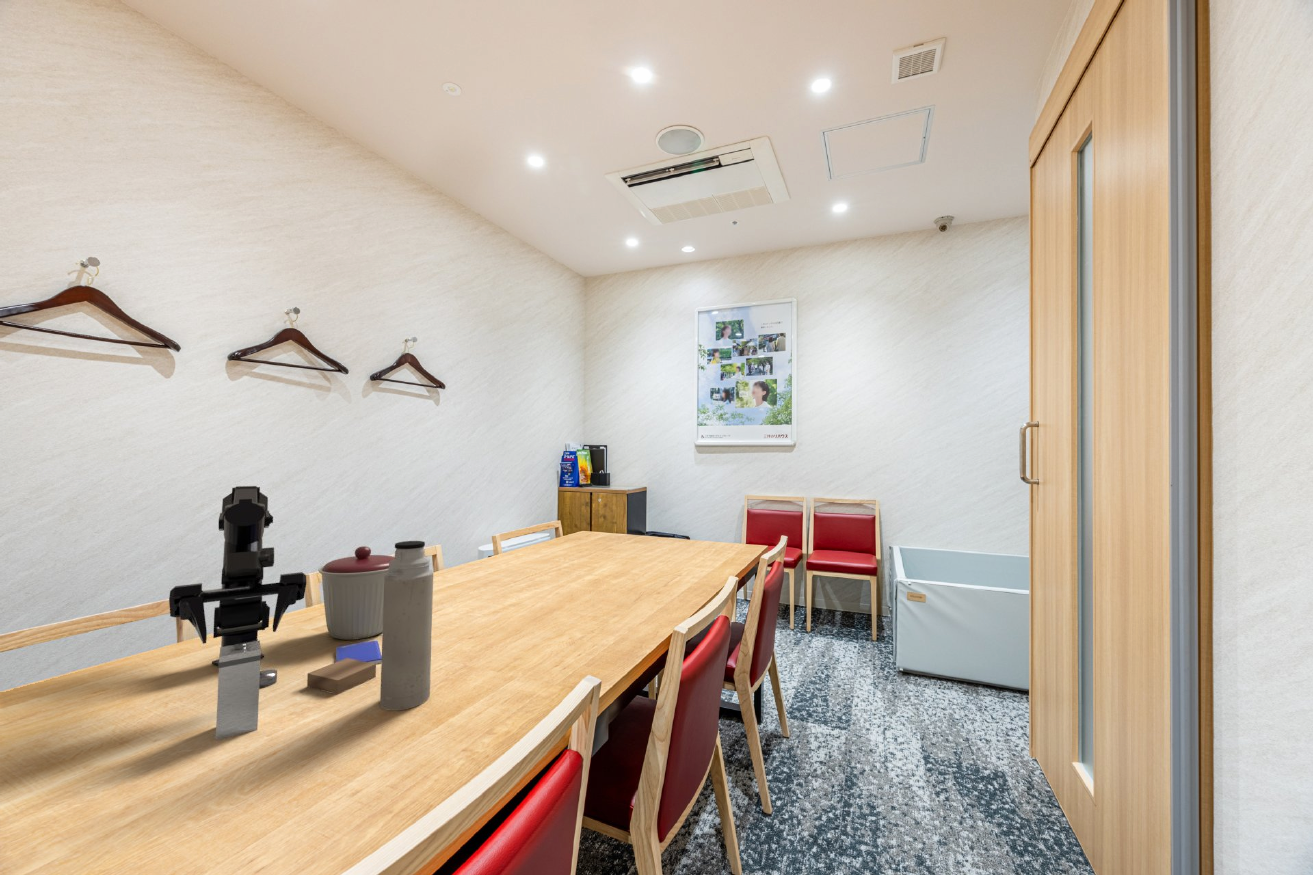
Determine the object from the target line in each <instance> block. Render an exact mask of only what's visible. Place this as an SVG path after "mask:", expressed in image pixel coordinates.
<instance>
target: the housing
mask: <svg viewBox="0 0 1313 875" xmlns="http://www.w3.org/2000/svg"><path fill="white" fill-rule="evenodd" d="M260 641H261V640H259V639H258V641H254V642H248V643H239V644H236V645H231V646H225V647H221V646H220V647H219V648H220V649H219V654H218V655H219V658H218V659H219V666H217V668H218V680H217V681H218V682H217V704H216V723H215V724H216V725H215V726H216V728H215V741H219V740H223V739H227V738H230V737H233V736H234V737H235V736H238V735H242V734H245V733H249V732H250V733H251V732H254V731H257V730H258V722H259V703H260V702H259V698H260V688H259V680H260V671H261V660H262V658H261V654H262V651H261V650H262V649H261V642H260Z"/></svg>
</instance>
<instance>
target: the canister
mask: <svg viewBox="0 0 1313 875" xmlns="http://www.w3.org/2000/svg"><path fill="white" fill-rule="evenodd" d="M393 559H395V556H392V555H384V554H372V549H371V547H369V546H363V545H362V546H359V547H357V548H356V549H355V550H354V555H353V556H348V557H342V558H337V559H334V560H331V561H329V562H326V564H324V565H323V566H321V567H319V568H318V573H319V574H321V583H322V584H321V586H322V593H323V604H324V606H323V607H324V613H325V614H324V616H325V622H326V623H325V624H326V629H327V631H328V633H329V635H330V636H331V637H333V638H334V639H337V640H347V641H349V640H350V641H351V640H352V641H353V640H360V639H365V638H371V637H374V636H377V635H380V634H382V631H383V600H384V576H385V575H386V574H387V573H389V570H388V568H389V562H390V561H392V560H393Z"/></svg>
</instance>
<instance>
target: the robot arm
mask: <svg viewBox="0 0 1313 875" xmlns="http://www.w3.org/2000/svg"><path fill="white" fill-rule="evenodd" d="M231 488H232V489H231V492H230V493H229V494H228V495H226V496H225V497H223V498H222V504H221V512H220V513H219V516H218V531H219V532H222V531H223V538H224V542H223V543H224V544H223V556H222V557H223V558H222V569H221V579H220V580H221V582H220V584H221V588H216V589H215V588H214V589H208V590H207V589H206V590H203V583H202V582H200V583H192V584H191V583H190V584H183V585H175V586H174V587H173V588H171V589H170V591H169V596H168V597H169V598H168V602H169V603H168V604H169V617H172V618H179V619H180V620H182V621H186V620H187V621H189V622H190V624H191V625H192V626H193V627H194V628H195V630H196V632H197V634H198V637H199V638H200V640H201V643H202V644H203V645H204V644H207V638H208V636H207V635H208V634H207V633H208V632H207V631H208V630H207V622H206V613H205V605H204V604H205V603H212V602H219V603H218V604H219V606H216V607H214V612H213V613H214V615H213V637H212V638H213V639H217V638H220V637H221V640H220V642H221V644H220V647H225V646H231V645H236V644H239V643H248V642H254V641H259V639H258V635H259V634H258V632H259V631H266V629H267V628H269V627H270V613H271V611H270V610H271V607H270V606H269V605H268V603H267V600H263V597H265V596H272V595H277V597H276V603H275V609H274V615H273V620H272V621H273V622H272V632H273V633H275V632H277V629H278V627H279V625H280V622H281V620H282V618H283V616H284V614H285V613H286V611H287V609H288V608H289V607H290V606H293V605H295V604H296V603H297V601H301V600H303V599H304V598H305V594H306V588H307V574H306V573H304V572H303V571H302V572H301V571H299V572H293V573H283V574H280V575H279V582H272V583H265V584H263V580H264V568H271V567H274V563H275V546H273V547H263V537H264V536H263V535H264V533H265V529H269V527H270V526H271V524H273V523H274V516H273V515H272V514H271V513H270V510H268V509H269V498H268V496H266V495H265V494H264V493H262V492H261V487H260V486H257V485H247V486H246V485H241V486H240V485H239V486H238V485H237V486H236V485H235V486H234V487H231ZM263 658H265V654H263V653H261V659H263ZM211 664H212V665H215V666H217V667H219V658H218V659H216V660H212V662H211Z"/></svg>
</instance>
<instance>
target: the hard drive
mask: <svg viewBox="0 0 1313 875" xmlns="http://www.w3.org/2000/svg"><path fill="white" fill-rule="evenodd" d="M335 658H336V659H335V660H336V661H335V662H338V661H340V660H343V659H345V658H350V659H355V660H360V661H365V662H369V663H374V664H376V665H378V664H381V662H382V651H381V649H380V644H379V641H378V640H371V641H370V640H369V641H365V642H357V643H353V644H352V643H351V644H346V645H340V646H337V647H336V648H335Z"/></svg>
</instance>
